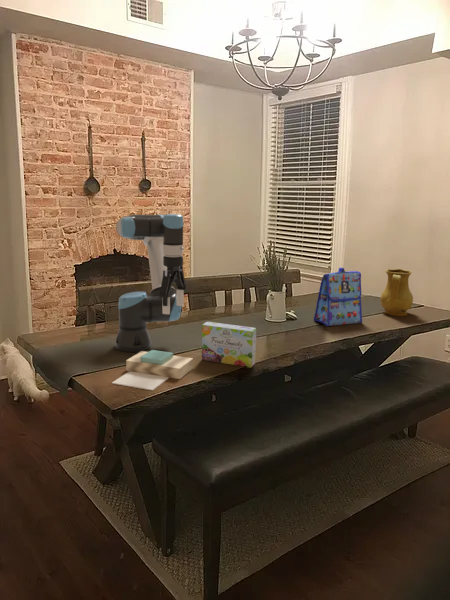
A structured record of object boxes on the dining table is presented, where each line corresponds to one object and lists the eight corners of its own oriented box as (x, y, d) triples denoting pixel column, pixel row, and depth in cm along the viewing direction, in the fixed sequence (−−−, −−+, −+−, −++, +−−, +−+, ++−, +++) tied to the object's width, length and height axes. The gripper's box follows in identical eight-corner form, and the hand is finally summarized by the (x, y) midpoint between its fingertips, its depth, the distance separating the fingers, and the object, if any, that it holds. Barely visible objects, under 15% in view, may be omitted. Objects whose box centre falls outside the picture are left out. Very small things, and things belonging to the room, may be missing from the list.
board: (126, 370, 190) (126, 360, 189) (142, 360, 201) (141, 350, 200) (179, 379, 182) (179, 368, 181) (193, 368, 193) (193, 358, 192)
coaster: (140, 361, 188) (140, 356, 187) (151, 354, 196) (151, 349, 196) (162, 364, 185) (162, 360, 184) (173, 357, 193) (173, 352, 193)
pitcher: (419, 314, 282) (421, 269, 276) (397, 320, 272) (399, 274, 266) (393, 308, 296) (394, 266, 290) (372, 314, 286) (373, 270, 280)
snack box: (200, 360, 202) (201, 324, 199) (206, 356, 207) (206, 320, 204) (251, 368, 195) (252, 330, 191) (255, 363, 200) (257, 326, 197)
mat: (111, 383, 177) (111, 382, 177) (129, 372, 188) (129, 371, 188) (152, 390, 172) (152, 389, 172) (168, 378, 183) (168, 377, 183)
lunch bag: (328, 327, 253) (332, 270, 247) (312, 320, 266) (316, 266, 259) (362, 323, 262) (367, 268, 256) (346, 316, 274) (350, 264, 268)
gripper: (169, 261, 180) (169, 318, 185) (194, 251, 203) (193, 303, 208) (149, 259, 182) (150, 316, 187) (176, 250, 205) (176, 301, 210)
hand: (173, 309), depth 197 cm, fingers open, 13 cm apart
